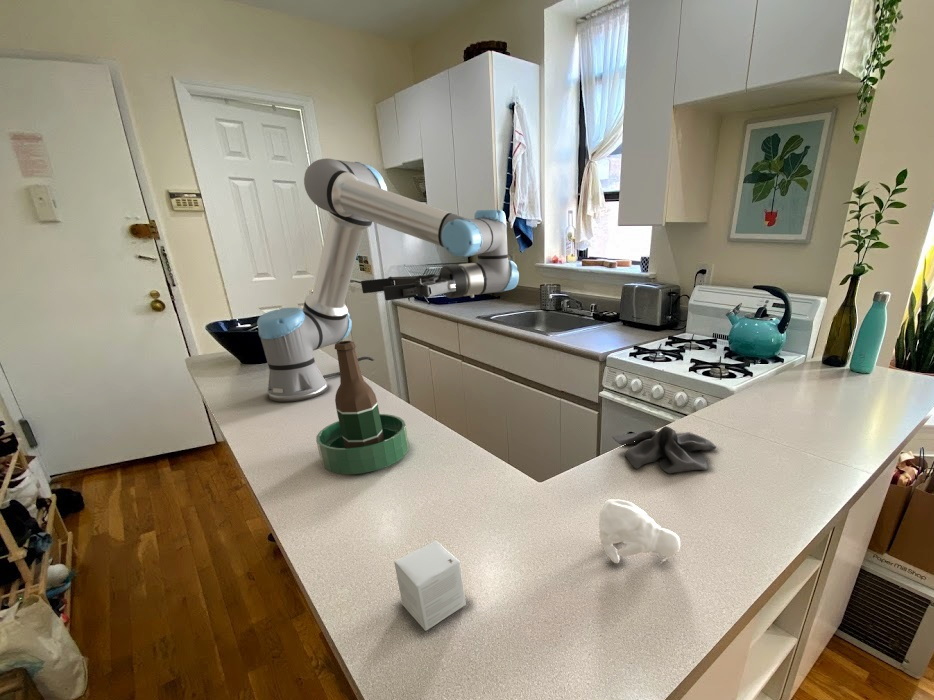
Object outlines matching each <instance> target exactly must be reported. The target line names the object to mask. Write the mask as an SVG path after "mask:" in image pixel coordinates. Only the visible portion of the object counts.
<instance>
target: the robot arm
mask: <svg viewBox="0 0 934 700" xmlns="http://www.w3.org/2000/svg"><path fill="white" fill-rule="evenodd" d="M303 185H304V189H305V192H306V194H307V196H308V197H309V199H310V200H311V202H312V203H313V204H314V205H315V206H317V207H318V208H320V209H322V210H324V211H326V212H327V214H328V215H329V219H328V222H327V228H326V233H325V237H324V241H323V246H322V250H321V254H320V259H319V263H318V267H317V272H316V276H315V281H314V285H313V289H312V290H313V291H312V293H311V294H308V295H306V296H305V298H304V303H303V306H302V309H301V308H300V307H283V308H279V309H274V310H270V311H267V312H265V313H263V314H261V315H260V316H259V317H258V318H257V321H256V323H257V329H258V336H259V338H260V342H261V344H262V348H263V352H264V356H265V358H266V362H267V366H268V370H269V375H268V383H267V385H268V386H267V394H268V397H269V399H270V400H271V401H274V402H280V403H281V402H282V403H289V402H297V401H305V400H309V399H312V398H315V397H318V396H320V395H322V394H325V393H326V392H327V390H328V389H329V387H328V381H327V380H326V379H328V378H332V377H338V376H340V371H338V372H337V371H336V372H333V373H328V374H324V375H323V373H322V372H321V370H320V368H319V367H318V366H317V364H316V360H315V356H314V355H315V354H314V351H316V350H319V349H324V348H326V347H329V346H332V345H335V344H336V343H338V342H341V341H344V340H345V339H346V338H347V337H348V336H349V335H350V333H351V330H352V324H353V323H352V319H351V318H350V317H351V314H350V313H349V308H348V306H347V305H346V303H345V301H346V298H347V295H348V291H349V287H350V283H351V280H352V275H353V272H354V268H355V263H356V261H357V257H358V253H359V249H360V246H361V241H362V238H363V234H364V230H365V229H367V228H370V227H371V226H372V225H373V223H375V224H377V225H379V226H383V227H385V228H389V229H391V230H394V231H397V232H400V233H402V234H406V235H408V236H411V237H414V238H417V239H419V240H423V241H425V242H429V243H431V244H434V245H437V246H439V247H442V248H445V250H446V251H447V252H448V253H449V254H451V255H452V256H453V257H462V258H468V257H472V256H475V255H476V256H477V262H469V263H459V264H447V265H443V266H442V267H441V269H440V270H439V274H435V273H429V274H420V275H408V276H407V275H406V276H405V275H404V276H388V277H386V278H385V277H384V278H377V279H374V278H373V279H365V280H360V285H361V290H362V294H370V293H371V294H372V293H381V292H383V293H384V294H383V295H384V300H385V301H386V302H387V301H395V300H403V299H404V300H405V299H410V298H412V299H413V298H417V297H419V298H422V297H424V298H426V299H429V298H431V297H436V296H440V295H444V297H446V298H448V299H456V298H462V297H468V296H469V297H470V298H471V299H473V298H475V295H477V296H478V295H484V294H493V293H503V292H506V291H511V290H513V289H515V288H516V287H517V286H518V283H519V280H520V272H519V270H518V266H517V264H516V263H515V262H514V261H513V260H510V259H509V255H508V232H507V230H508V229H507V228H508V224H507V219H506V213H505V211H503V210H502V209H478V210H476V211H475V212H474V218H467V217H464V216H461V215H458V214H455V213H452V212H450V211H448V210H444V209H442V208H438V207H435V206H433V205H430V204H426V203H424V202H421V201H419V200H415V199H413V198H410V197H406V196H404V195H401V194H398V193H395V192H393V191H389V190H388V188H387V185H386V182H385V180H384V178H383V176H382V175H381V173H380V172H379V171H378V170H377V169H376V168H375V167H373V166H371V165H368V164H365V163H362V162H360V161H348V160H340V159H333V158H319V159H317V160H315V161H312V163H310V164H309V165H308V167H307V169H306V170H305V171H304V176H303ZM357 360H358V362H361V361H364V360H369V361H370V362H374V361H375V359H374V358H373V357H371V356H361V357H357Z"/></svg>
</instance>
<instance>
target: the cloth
mask: <svg viewBox="0 0 934 700" xmlns="http://www.w3.org/2000/svg"><path fill="white" fill-rule="evenodd" d="M611 437H612V439H613V440H614V441H615V442H616V443H617V444H619V445H621V446H624V445H625V446H626V445H634V446H632V447H630V448H628V449H627V450H626V451H625V452H624V457H626V458H627V459H628V462H630V464H631V465H632V467H633V468H634V469H636V470H637V469H640V468H641V467H642V466H643V465H647V464H650V463H653V462H657V461H659V467H660V469H661V470H663V471H664V472H666V473H667V474H674V473H681V472H689V471H705V470H708V462H707V459H706V456H705V455H704V454H703V453H702V452H701V451H703V452H704V451H714V450H715V449H717V445H716V444H715V443H713V442H712V441H711V440H709V439H707V438H705V437H703V436H700V435H698V434H695V433H693V432H690V431H687V432H684V433H677V432H676V430H675V429H673V428H671V427H670V426H667V425H665V426H663V427H661V428H660V429H659V430H658V431H657V430H653V429H647V430H644V431H642V432H632V433H626V434H617V435H613V436H611ZM634 441H635V442H634Z"/></svg>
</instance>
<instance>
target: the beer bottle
mask: <svg viewBox="0 0 934 700" xmlns="http://www.w3.org/2000/svg"><path fill="white" fill-rule="evenodd" d="M356 347H357V346H356V344H355V341H352V340H341V341H340V342H338V343H336V344H334V350H336V355H337V361H338V368H339V372H340V375H339V376H340V378H339V379H340V384H339V386H338V388H337V390H336V392H335V398H334V403H335V408H336V414H337V418H338V421H339V423H340V428H341V432H342V437H343V441H344V446H345V448H357V447H363V446H369V445H373V444H376V443H379V442H382V441H384V436H383V430H382V425H381V419H380V414H381V413H380V408H379V404H378V399H377V396H376V393H375V391H374V390H373V389H372V387H371V386H370V385H369V383H367V382H366V381H365V379H364V377H363V373H362V371H361V368H360V364H359V361H358V360H357V359H358V355H357V352H356Z"/></svg>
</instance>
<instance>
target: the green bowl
mask: <svg viewBox="0 0 934 700" xmlns="http://www.w3.org/2000/svg"><path fill="white" fill-rule="evenodd" d="M379 414H380V419H381V425H382V430H383V436H384V441H382V442H379V443H376V444H373V445H369V446H363V447H357V448H345V446H344V441H343V437H342V432H341V428H340V423H339V420H338V421H335V422H333V423H331V424H328V425H326V426H325V427H324V428H322V429H321V430H320V431H319V432H318V433H317V434H316V437H315V438H316V439H315V441H316V445H317V449H318V454H319V458H320V462H321V465H322V467H323V468H324V469H325V470H327V471H329V472H331V473H336V474H341V475H357V474H366V473H370V472H375V471H378V470H382V469H385V468H387V467H390V466H391V465H394V464H396V463H398V462H399V461H400V460H402V459H403V458H405V456H406V455H407V453H408V452H409V449H410V444H409V438H408V437H409V436H408V431H407V426H406V425H407V424H406V422H405V420H404V419H402V418H401V417H399V416H398V415H397V416H396V415H394V414H388V413H379Z"/></svg>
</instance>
